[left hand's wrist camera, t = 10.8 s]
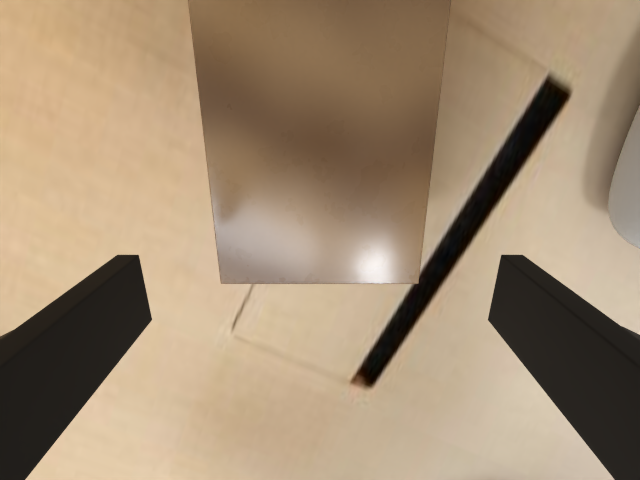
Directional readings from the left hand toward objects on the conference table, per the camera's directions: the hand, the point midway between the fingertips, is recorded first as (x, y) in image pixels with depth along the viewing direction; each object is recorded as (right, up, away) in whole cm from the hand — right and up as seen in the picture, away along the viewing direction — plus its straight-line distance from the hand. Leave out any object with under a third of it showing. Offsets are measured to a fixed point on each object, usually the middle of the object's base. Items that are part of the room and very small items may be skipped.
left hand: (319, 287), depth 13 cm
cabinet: (0, +11, +14) cm, 18 cm away
